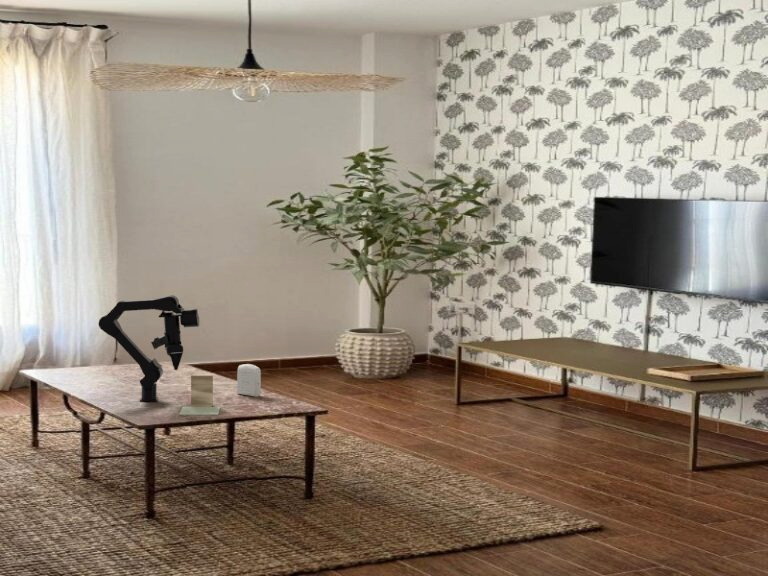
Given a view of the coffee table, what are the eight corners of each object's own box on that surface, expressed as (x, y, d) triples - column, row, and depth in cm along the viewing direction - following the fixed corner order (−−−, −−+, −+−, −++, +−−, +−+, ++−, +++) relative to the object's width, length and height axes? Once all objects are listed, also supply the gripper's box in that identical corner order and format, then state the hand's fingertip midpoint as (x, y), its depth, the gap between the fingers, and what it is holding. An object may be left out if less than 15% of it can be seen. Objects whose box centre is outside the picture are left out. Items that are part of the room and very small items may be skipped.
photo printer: (262, 395, 459) (262, 365, 458) (255, 397, 456) (255, 366, 455) (242, 392, 465) (242, 362, 464) (235, 394, 461) (235, 363, 460)
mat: (182, 407, 432) (182, 406, 432) (220, 407, 433) (220, 406, 433) (179, 415, 418) (179, 414, 418) (218, 415, 419) (218, 414, 419)
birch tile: (191, 405, 437) (191, 374, 435) (212, 405, 437) (213, 374, 436) (190, 407, 433) (191, 375, 432) (212, 407, 434) (212, 375, 433)
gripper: (150, 327, 450) (153, 366, 451) (151, 332, 432) (155, 373, 433) (179, 324, 452) (181, 364, 454) (181, 330, 434) (184, 371, 436)
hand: (175, 368), depth 444 cm, fingers open, 9 cm apart
